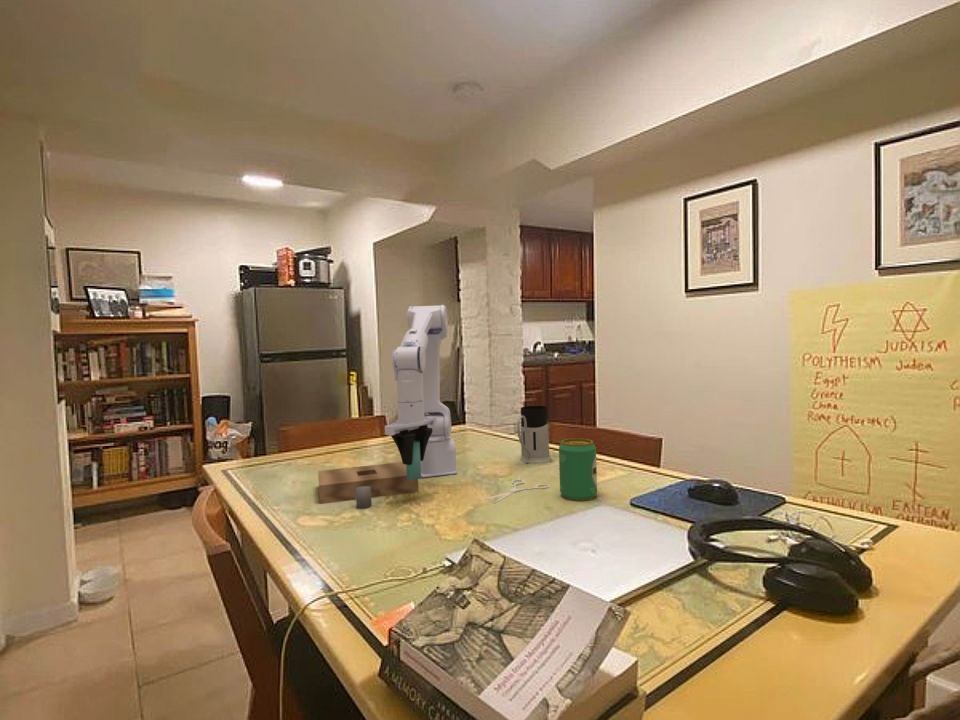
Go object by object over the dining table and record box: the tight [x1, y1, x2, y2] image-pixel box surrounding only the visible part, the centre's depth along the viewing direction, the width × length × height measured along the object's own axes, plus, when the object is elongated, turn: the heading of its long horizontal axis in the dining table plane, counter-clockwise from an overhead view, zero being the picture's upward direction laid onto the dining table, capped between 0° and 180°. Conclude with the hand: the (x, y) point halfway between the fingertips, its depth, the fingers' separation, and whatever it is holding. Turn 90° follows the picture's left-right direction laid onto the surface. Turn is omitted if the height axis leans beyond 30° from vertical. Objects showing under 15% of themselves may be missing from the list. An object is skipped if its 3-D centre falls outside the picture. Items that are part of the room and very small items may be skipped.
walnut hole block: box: [317, 461, 419, 504], centre depth 126 cm, size 22×14×4 cm, turn 108°
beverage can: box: [558, 437, 598, 502], centre depth 115 cm, size 8×8×12 cm
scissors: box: [479, 476, 551, 504], centre depth 120 cm, size 11×1×20 cm
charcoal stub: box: [355, 486, 373, 510], centre depth 113 cm, size 3×3×4 cm
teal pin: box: [406, 441, 422, 480], centre depth 116 cm, size 3×3×8 cm
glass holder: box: [516, 405, 552, 465], centre depth 148 cm, size 9×14×15 cm, turn 148°
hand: (413, 462), depth 116 cm, fingers closed on teal pin, 3 cm apart
